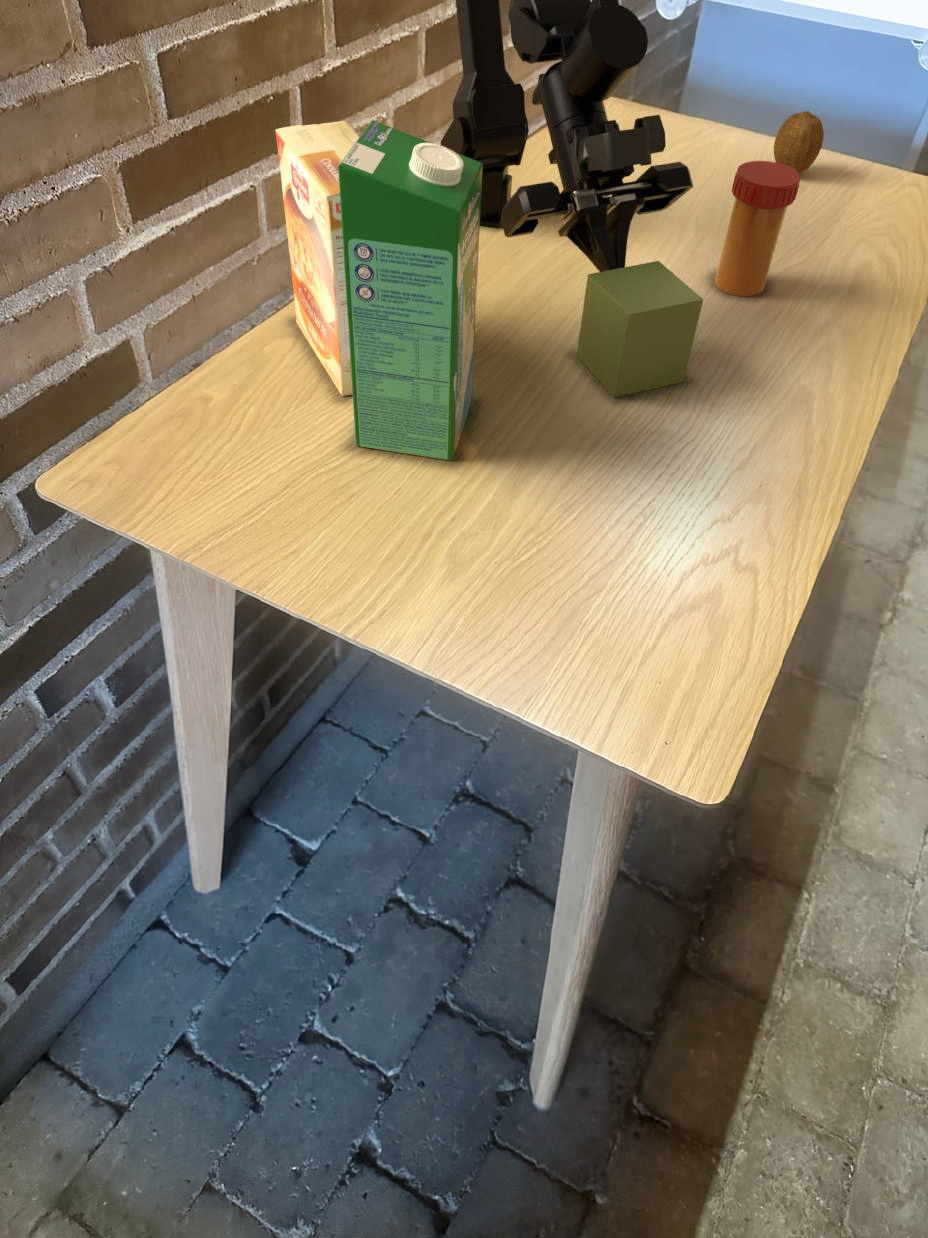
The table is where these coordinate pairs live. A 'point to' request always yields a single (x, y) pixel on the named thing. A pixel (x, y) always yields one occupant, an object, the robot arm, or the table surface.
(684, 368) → the tea box
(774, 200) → the lid
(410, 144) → the milk carton
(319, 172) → the coffeecake box
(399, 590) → the table surface
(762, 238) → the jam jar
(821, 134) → the fruit
